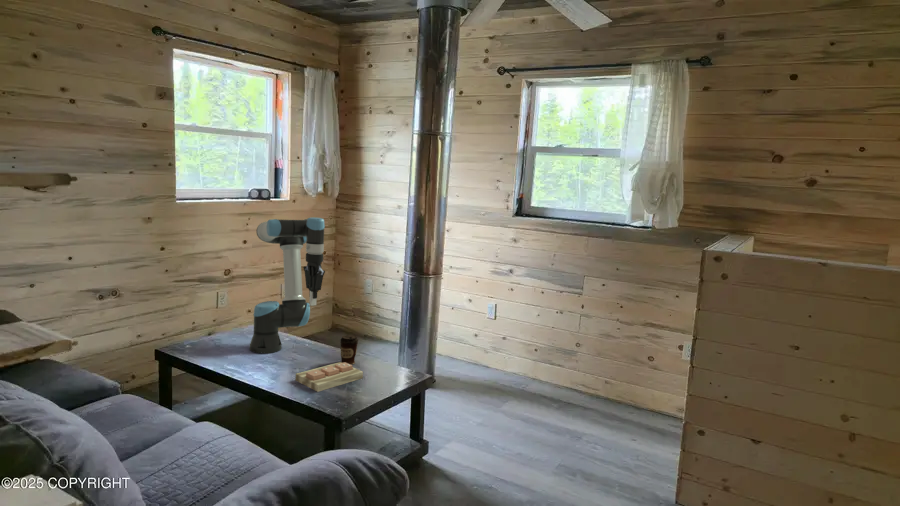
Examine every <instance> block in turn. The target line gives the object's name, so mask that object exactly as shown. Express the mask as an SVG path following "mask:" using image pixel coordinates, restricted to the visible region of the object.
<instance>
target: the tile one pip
mask: <svg viewBox="0 0 900 506" xmlns="http://www.w3.org/2000/svg"><path fill="white" fill-rule="evenodd" d="M306 377H307V378H309V379H311V380H313V381H315V380H319V379H322V378H325V373H323V372H321V371H319V370H314V371H310V372H306Z"/></svg>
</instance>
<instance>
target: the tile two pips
mask: <svg viewBox="0 0 900 506" xmlns="http://www.w3.org/2000/svg"><path fill="white" fill-rule="evenodd" d="M321 372H323V373H325V375H326V376H328V377H329V376H333V375H336V374H339V369H337V368H335V367H333V366H329V367H325V368H321Z"/></svg>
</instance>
